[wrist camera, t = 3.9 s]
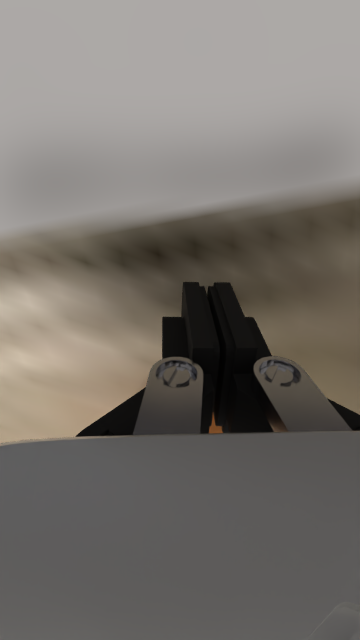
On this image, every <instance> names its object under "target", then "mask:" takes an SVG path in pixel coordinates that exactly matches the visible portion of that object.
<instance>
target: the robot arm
mask: <svg viewBox="0 0 360 640" xmlns="http://www.w3.org/2000/svg"><path fill="white" fill-rule="evenodd" d="M213 415H214V420H215V425H216V426H221V427H222V432H223V433H209V427H210V426H211V424H212V417H213ZM0 640H360V415H359V414H357V413H355V412H353V411H351V410H349V409H347V408H345V407H343V406H341V405H339V404H337V403H335V402H333V401H331V400H329V399H327V398H326V397H325V396H324V394H323V393H322V392H321V391H320V389H319V388H318V387H317V386H316V384H315V383H314V382H313V381H312V379H311V378H310V377H309V376H308V374H307V373H306V372H305V371H304V369H303V368H301V367H300V366H299V365H298V364H297V363H295V362H293V361H291V360H289V359H286V358H283V357H277V356H272V355H271V353H270V351H269V349H268V347H267V345H266V343H265V340H264V338H263V336H262V334H261V332H260V330H259V328H258V326H257V323H256V321H255V319H254V318H253V317H244V314H243V312H242V310H241V307H240V305H239V303H238V300H237V298H236V295H235V293H234V291H233V288H232V286H231V284H230V283H216V282H215V283H214V286H209V287H208V294H206V291H205V287H204V286H199V283H198V282H183V292H182V316H181V317H163V318H162V360H160V361H158V362H157V363H155V364H154V365H153V367H152V368H151V370H150V374H149V377H148V381H147V385H146V387H145V388H144V389H143V390H141V391H140V392H138V393H137V394H135V395H134V396H132V397H131V398H129V399H128V400H126V401H125V402H123V403H122V404H120V405H119V406H117V407H116V408H115V409H113V410H112V411H110V412H109V413H107V414H106V415H104V416H103V417H101V418H100V419H98V420H97V421H95V422H94V423H92V424H91V425H90V426H88V427H87V428H85V429H84V430H82V431H81V432H80V433H79V434H78V435H77V436H76V437H64V438H47V439H30V440H21V441H13V442H5V443H0Z"/></svg>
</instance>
